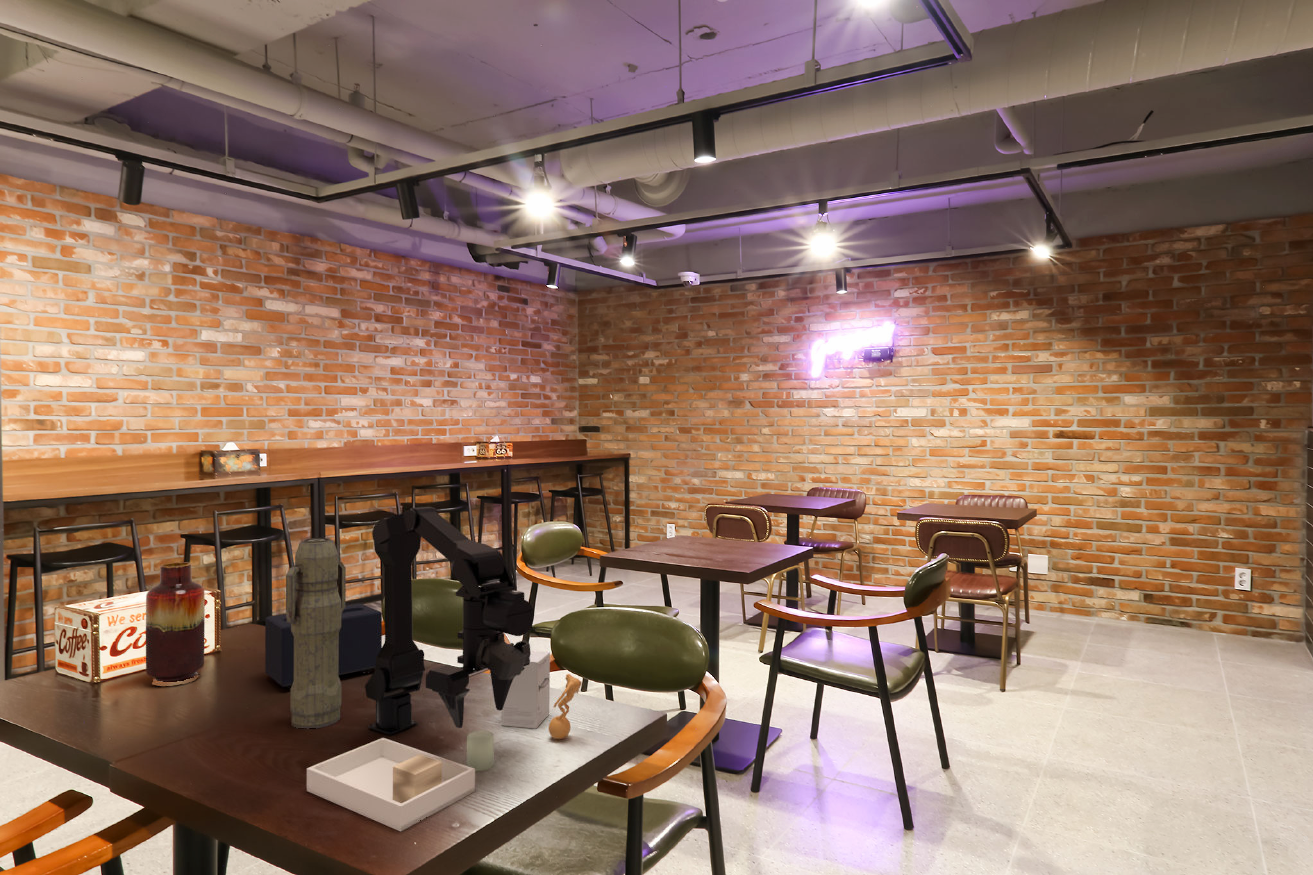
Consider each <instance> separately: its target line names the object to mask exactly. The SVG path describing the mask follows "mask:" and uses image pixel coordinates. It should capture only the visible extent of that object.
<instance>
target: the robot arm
mask: <svg viewBox="0 0 1313 875" xmlns="http://www.w3.org/2000/svg"><path fill="white" fill-rule="evenodd" d="M371 535H372V536H371V537H372V541H373V547H374V552H375V554H376V555H377V557H378V558H379V560H380V561H381V562H382V564H383V576H384V577H383V579H384V580H383V582H384V584H383V585H384V586H383V588H384V590H383V592H384V597H383V598H384V601H383V602H384V643H383V644H382V648H381V650H380V652H379V654H378V655H377V657H376V666H375V668H374V670H375V671H374V672H373V674H371V676H370V678H369V679H368V680H367V682H366V683H365V685H364V690H365V695H366V698H368V699H371V700H373V701H375V722H373V723H371V724H368V729H371V730H374V731H377V732H380V733H383V734H387V736H388V735H394V734H396V733H399V732H401V731H404V730H406V729H409V728H412V727H413V726H416V725H418V721H417V720H414V719H413V717H412V714H413V712H412V710H413V707H412V706H413V704H412V694H411V693H414V692H419V691H420V689H421V684H422V681H423V677H424V672H425V671H426V669H425V652H424V650H423V649H419V648H418V647H419V646H417V645H416V643H415V641H414V638H413V635H414V634H413V627H414V626H413V572H412V570H413V567H412V565H413V562H414V560H415V559H416V556H417V555H418V553H419V552H420V549H421V545H422V539H424V540H425V541H426V542H427V543H428V544H429V545H430V546H431V547H433V548H434V549H435V550H436V551H437V552H438V553H439V554H441V555H442V556H443V557H444V558H445V559H447V560H448V561H449V563H450V570H451V573H452V574H453V576H454V577H455V578H456V579H457V581H458V582H459V583H460V584H461V587H460V588H458V589H457V590H456V591H455V596H456V597H459V598H462V630H460V631H458V632H457V639H460V640H462V655H458V656H457V658H456V659H457V660H456V661H457V664H461V665H462V666H460V667H457V666H453V665H449V664H443V665H440V666H438V667H435V668H432V669H430V670H428V672H427V673H426V674H425V689H429V690H432V692H435V693H437V694H438V696H439V697H440V698H441V700H442V702H443V703H444V705H445V708H446V709H447V711H448V714H449V716H450V718H451V720H452V721H453V723H454V726H455V727H456V728H458V729H462V728H463V725H464V716H465V715H464V714H465V711H464V710H465V697H466V695H468V693H469V692H470V688H467V687H468V685H469V683H470V678H471V677H474V676H476V675H479V674H482V673H485V672H487V671H489V673H490V678H491V679H490V680H491V686H492V692H493V693H492V694H493V699H494V704H495V708H496V710H497V711H498V712H499V711H501V712H502V709H503V707H504V704H505V701H506V698H507V695H508V692H509V689H510V686H511V684H512V681H513V679H514V677H515V676H517V675H520V674H521V671H523V670H524V669H525V668H524V666H527V665H529V664H530V654H531V652H530V651H531V644H530V642H528V641H527V640H525V639H523V640H521V641H520V640H519V641H518V642H516V643H515V644H514V643H513V642H511V643H507V642H506V639H505V634H507V635H510V636H515V637H521V636H524V635H525V634H527V633H528V632H529V631H530V630H531V628H532V625H533V624H534V620H535V611H534V609H533V606H532V605H531V604H532V603H530V602H529V601H528V600H526V599H525V592H523V591H519V590H518V591H517V586H516V584H515V582H514V581H515V580H514V578H513V575H512V574H511V573H510V570H509V568H508V565H507V564H506V561H505V559H504V556H503V554H502V553H501V552H500V551H499V550H498V549H497V548H495V547H492V546H490V545H488V544H486V543H481V542H477V541H473V540H471V539H470V538H468V537H467V536H466V535H465V534H464V533H462V532H461V531H460V530H459V529H458V528H456V527H455V526H454V525H452V524H451V523H450V522H449V521H448V520H446V519H445V518H444V517H442V515H441V514H439V511H438V509H436V508H435V507H432V506H421V507H419V506H418V507H411V508H410V509H407V510H405V511H404V512H402V513H399V514H396V515H394V516H391V517H386V518H385V517H384V518H380V519H379V520H378V521H377V522H376V523H375V524H374V525H373V528H372V532H371Z"/></svg>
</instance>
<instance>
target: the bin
mask: <svg viewBox="0 0 1313 875" xmlns="http://www.w3.org/2000/svg"><path fill="white" fill-rule="evenodd" d="M417 755H423V756H426V757H428V758H431V759H434V760H437V761H440V762H442V783H441V784H439V785H437V786H435V787H433V788H431V789H429V790H427V791H425V792H423V793H421V794H419V795H417V796H415V797H413V798H411V799H409V800H407V801H405V802H403V803H399V802H397V801H395V800H393V766H395V765H397V764H399V763H402V762H404V761H406V760H408V759H411V758H413V757H415V756H417ZM306 792H309V793H310V794H313V795H315V796H318V797H320V798H322V799H325V800H326V801H329V802H331V803H334V804H336V805H338V806H341V807H343V808H346V809H348V810H350V811H353V812H355V813H357V814H359V815H362V816H364V817H366V818H368V819H370V820H374V821H375V822H377V823H380V824H382V825H384V826H387V827H389V828H392V829H394V830H395V831H398V832H399V833H401V832H402V831H404V830H406V829H408V828H410V827H412V826H414V825H415V824H417V823H420V822H421V821H423V820H425V819H426V817H427V818H429V817H430V816H432V815H434V814H436V813H437V812H440V811H441V810H443V809H446V808H447V807H449V806H450V805H452V804H454V803H456V802H458V801H460V800H462V799H463V798H465V797H468V796H469V795H470V794H471V795H472V793H474V792H476V771H475V769H474V768H471V767H468V766H467V765H466V764H463V763H459V762H456V761H453V760H450V759H447V758H444V757H441V756H439V755H436V754H432V753H430V752H427V751H424V750H420V749H418V748H414V747H412V746H409V745H406V744H403V743H401V742H400V743H399V742H396V741H394V740H391V739H388V738H386V737H381V738H378V739H377V740H374V741H371V742H370V743H367V744H365V745H361V746H359V747H357V748H354V749H352V750H349V751H347V752H344V753H341V754H339V755H337V756H334V757H331V758H329V759H327V760H324V761H322V762H319V763H317V764H314V765H312V766H310V767H307V768H306ZM420 820H421V821H420Z"/></svg>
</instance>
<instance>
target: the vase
mask: <svg viewBox="0 0 1313 875" xmlns="http://www.w3.org/2000/svg"><path fill="white" fill-rule="evenodd" d="M159 571H160V572H159V573H160V574H159V575H160V576H159V583H158V584H156V585H154V586H152V587H151V588H150V589H149V590H148V591H147V593H146V595H145V672H146V675H148V676H150V677H153V678H155V679H156V680H157V681H163V682H177V681H184V680H186V679H190V678H194V676H197V674H199V673H198V672H197V671H199V670H201V669H202V668H203V667H204V664H205V620H206V619H205V616H206V615H205V614H206V613H205V610H206V609H205V588H204V587H203V586H202V584H200V583H199V582H196V581H193V579H192V563H191V562H185V561H183V562H181V561H179V562H178V561H177V562H168V563H164V564H161V565H160V570H159Z"/></svg>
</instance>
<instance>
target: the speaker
mask: <svg viewBox="0 0 1313 875" xmlns="http://www.w3.org/2000/svg"><path fill="white" fill-rule="evenodd" d="M382 624H383V612H382V611H380V610H377V609H374V608H373V607H371V606H368V605H365V604H364V603H361V602H358V603H352V604H346V608H345V609H344V610H343V612H342V613H341V628H340V631H339V657H338V676H341V675H347V674H352V673H356V672H362V673H363V672H365V673H367V674H369V673H368V672H370V673H371V672H372V669H375V666H376V657H377V655H378V654H379V652H380V650H381V648H382V646H383V644H382V643H383V641H382V638H383V637H382V636H383V635H382V634H383V625H382ZM264 625H265V630H264V631H265V634H264V635H265V638H264V639H265V642H264V644H265V645H264V646H265V650H264V652H265V653H264V656H265V657H264V659H265V662H264V664H265V665H264V666H265V667H264V668H265V669H264V671H265V672H264V673H265V674H266V675H268V676H269V677H270V678H271V679H272V680H274V681H275V682H276V683H277V684H279V685H280V686H281V687H282V688H284V687H285V688H287V689H288V688H291V687H292V684H293V682H294V636H293V634H292V632H291V623H287V619H286V613H284V614H276V615H269V616H266V617H265V624H264ZM365 673H364V674H365Z"/></svg>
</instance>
